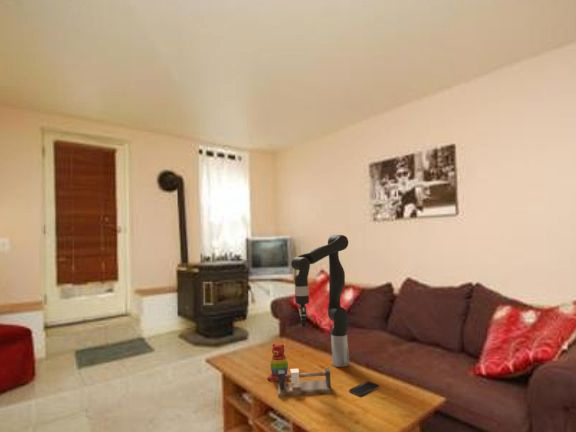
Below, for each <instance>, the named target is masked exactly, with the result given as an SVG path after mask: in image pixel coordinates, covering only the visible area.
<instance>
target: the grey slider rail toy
mask: <svg viewBox="0 0 576 432" xmlns="http://www.w3.org/2000/svg"><path fill="white" fill-rule="evenodd" d="M324 376H325V379H323V380H321V379H319V380H306V381H299V382H300V383H291V381H290V382H287V381H286V382H285V378H288V379H291V373H289V374H288V373H287V375H285V373H284V370H279V371H278V377H279V382H277V395H278V398H285V397H299V396H314V395H327V394H328V395H330V394H333V388H332V385H331V371H330V368H329V367H325V368H324V371H323V372H319V371H318V372H305V373H299V378H307V377H308V378H309V377H310V378H311V377H324Z"/></svg>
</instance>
